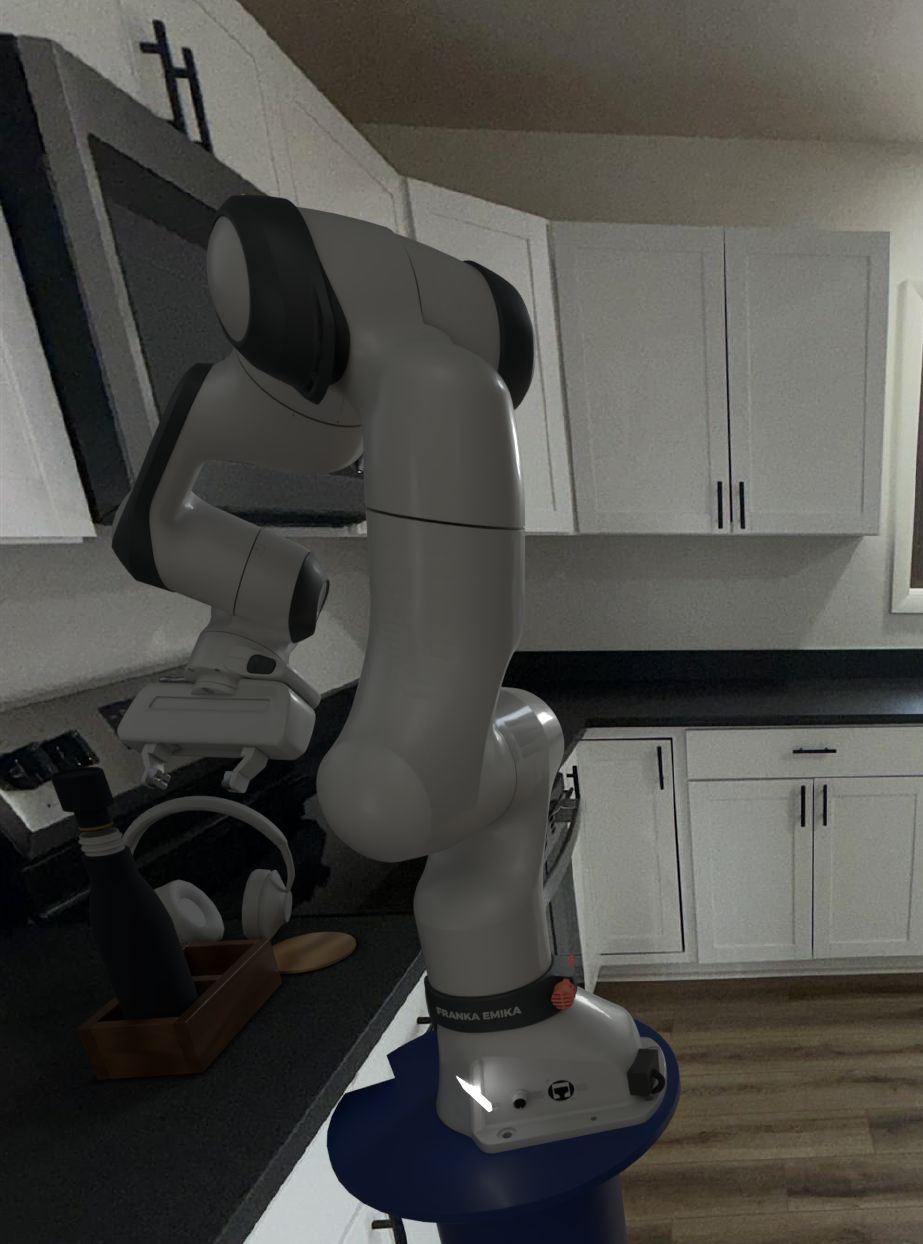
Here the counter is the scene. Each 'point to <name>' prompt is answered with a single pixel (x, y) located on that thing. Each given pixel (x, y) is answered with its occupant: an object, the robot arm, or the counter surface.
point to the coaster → (312, 951)
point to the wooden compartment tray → (186, 1015)
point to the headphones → (191, 906)
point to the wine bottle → (125, 908)
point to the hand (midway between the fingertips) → (192, 788)
